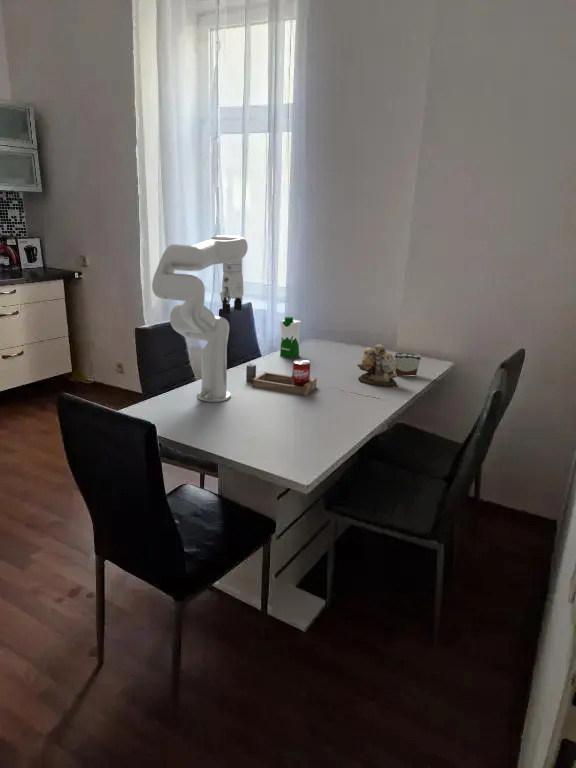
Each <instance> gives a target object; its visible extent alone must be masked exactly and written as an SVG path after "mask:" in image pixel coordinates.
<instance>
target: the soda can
mask: <svg viewBox="0 0 576 768" xmlns="http://www.w3.org/2000/svg"><path fill="white" fill-rule="evenodd" d="M311 365H312V364H311V362H310V360H306V359H295V360H293V362H292V370H291V371H292V372H291V376H292V384H291V385H294V386H300V387H303V386H304V385H305V384H306V383H308V382H309V381H310V379H311Z"/></svg>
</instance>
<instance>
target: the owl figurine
mask: <svg viewBox="0 0 576 768" xmlns="http://www.w3.org/2000/svg"><path fill="white" fill-rule="evenodd" d="M363 354H364V355H363V357H362V360H361V363H357V365H356V366H357V367H359V369H360V371H364V372H365V373H362V375H360V376H359V377H358V379H357V380H358V382H359V381H360V382H359V383H360V384H364V385H365V384H366V385H369V386H375V387H381V388H394V387H393V386H395V387H396V386H397V381H396V380H395V379H394V378H397V377H398V376H397V375H396V374H395V370H396V368H397V367H396V366H397V361H395V358H394V355H393V354H392V353H389V352H387V351H386V347H385V346H384V345H382V344H381V343H379V344H376V345H375V347H374V349H373V348H372V347H366V348H365V350H364V353H363Z"/></svg>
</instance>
